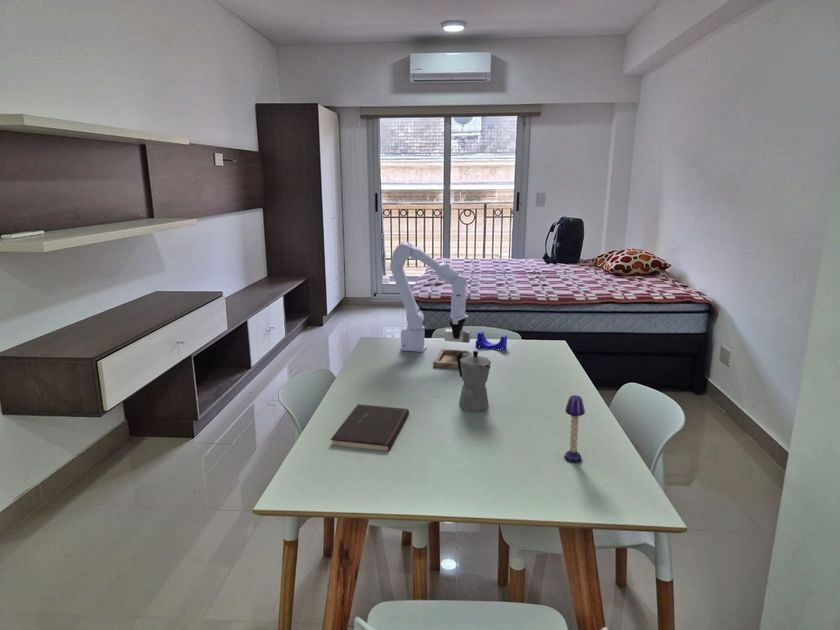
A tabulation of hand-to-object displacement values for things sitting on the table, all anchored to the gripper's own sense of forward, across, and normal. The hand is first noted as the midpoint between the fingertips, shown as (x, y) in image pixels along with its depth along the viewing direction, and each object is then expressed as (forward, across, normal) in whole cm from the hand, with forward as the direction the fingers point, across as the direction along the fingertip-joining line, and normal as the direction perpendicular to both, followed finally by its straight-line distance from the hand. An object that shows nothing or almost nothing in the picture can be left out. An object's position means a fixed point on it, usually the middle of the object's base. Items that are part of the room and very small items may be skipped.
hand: (457, 336), depth 220 cm
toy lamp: (+6, -80, -42) cm, 91 cm away
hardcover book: (+7, -76, +12) cm, 78 cm away
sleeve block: (+2, 0, 0) cm, 2 cm away
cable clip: (+6, +6, -13) cm, 16 cm away
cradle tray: (+6, -14, 0) cm, 16 cm away
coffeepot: (+6, -54, -13) cm, 55 cm away
